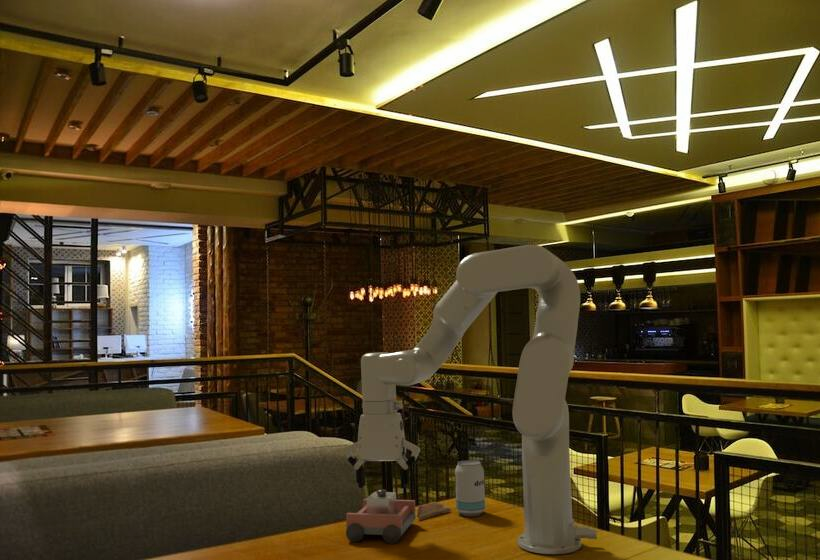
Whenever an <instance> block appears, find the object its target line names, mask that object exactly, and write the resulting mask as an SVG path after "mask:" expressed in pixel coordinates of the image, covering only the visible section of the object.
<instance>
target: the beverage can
mask: <svg viewBox="0 0 820 560" xmlns="http://www.w3.org/2000/svg"><path fill="white" fill-rule="evenodd" d="M481 463H482V462H481V461H479V460H473V459H472V460H469V459H468V460H461V461H457V465H456V467H455V468H454V476H455V477H454V480H455V505H456V506H455V507H456V508H455V509H456V511H457V512H458V513H460V515H461V516H463V515H464V516H463V517H478V516H480V515H482V513H484V512H485V511H486V495H485V494H486V492H485V469H484V467H483V466H482V464H481Z"/></svg>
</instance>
